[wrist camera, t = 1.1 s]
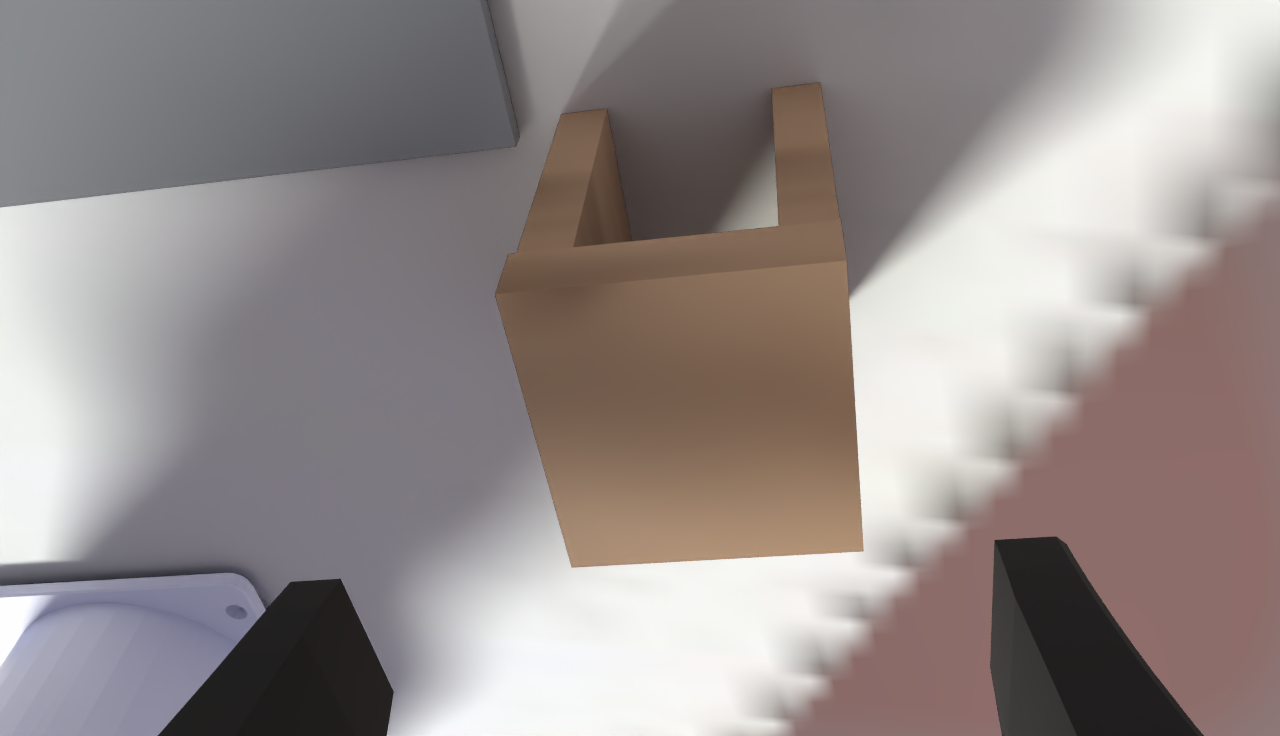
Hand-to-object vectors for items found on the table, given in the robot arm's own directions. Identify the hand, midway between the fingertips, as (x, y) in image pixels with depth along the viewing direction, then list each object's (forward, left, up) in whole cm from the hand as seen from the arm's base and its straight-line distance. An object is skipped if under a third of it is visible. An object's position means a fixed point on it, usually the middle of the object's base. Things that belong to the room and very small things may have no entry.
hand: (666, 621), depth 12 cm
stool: (0, 0, -9) cm, 9 cm away
